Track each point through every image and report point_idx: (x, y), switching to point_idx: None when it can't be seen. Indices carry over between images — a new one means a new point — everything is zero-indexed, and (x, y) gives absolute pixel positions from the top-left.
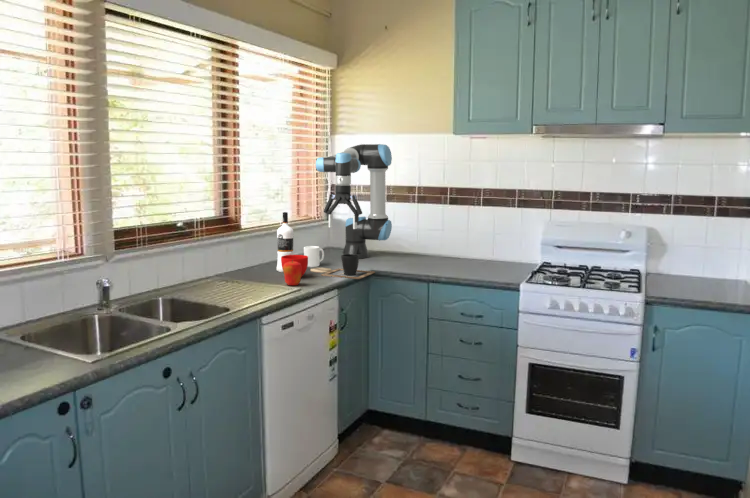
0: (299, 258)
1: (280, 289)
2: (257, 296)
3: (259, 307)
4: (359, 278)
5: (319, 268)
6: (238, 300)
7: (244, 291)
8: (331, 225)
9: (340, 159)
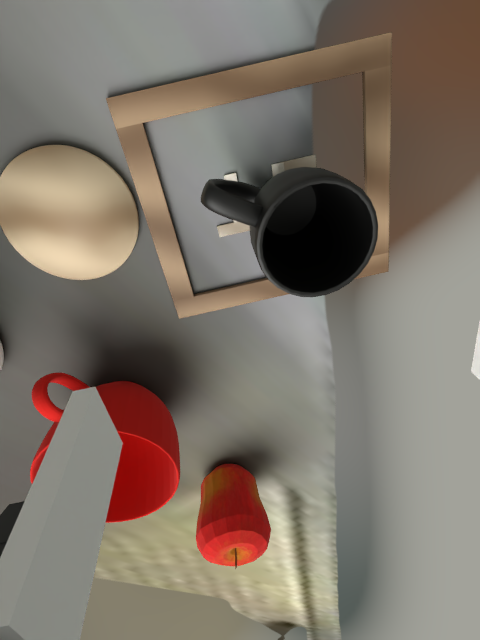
0: None
1: None
2: (255, 571)
3: (327, 597)
4: (387, 270)
5: (30, 198)
6: (249, 598)
7: (187, 568)
8: (102, 432)
9: None
